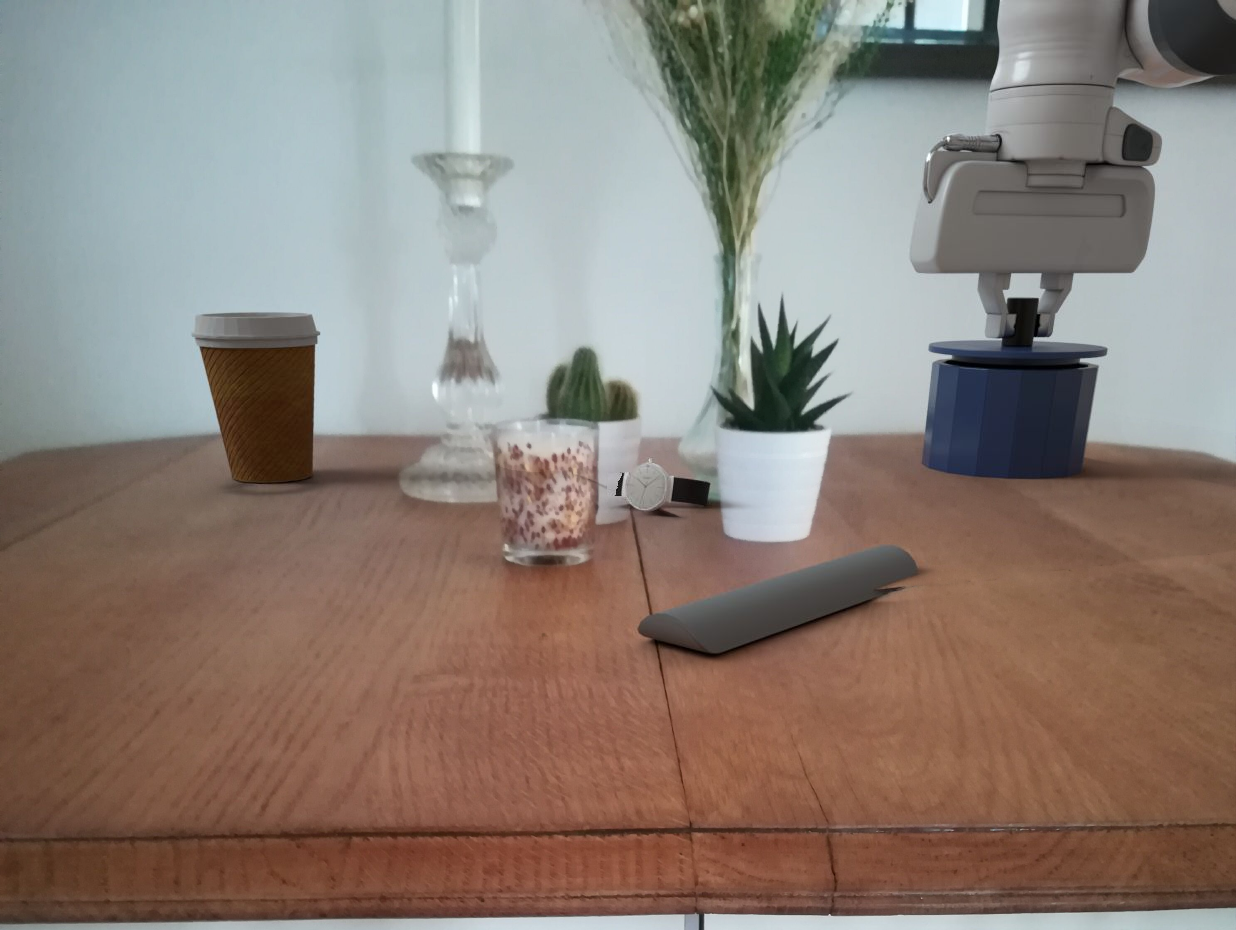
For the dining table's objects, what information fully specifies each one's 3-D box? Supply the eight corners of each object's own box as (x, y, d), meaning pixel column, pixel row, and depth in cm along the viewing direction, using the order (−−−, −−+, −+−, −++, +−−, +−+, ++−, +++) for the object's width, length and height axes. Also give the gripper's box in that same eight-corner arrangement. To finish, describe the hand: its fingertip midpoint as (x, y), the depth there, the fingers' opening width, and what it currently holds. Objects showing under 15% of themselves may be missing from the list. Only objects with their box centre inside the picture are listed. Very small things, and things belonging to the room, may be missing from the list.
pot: (1011, 457, 108) (1025, 355, 105) (1114, 480, 98) (1134, 367, 94) (892, 466, 104) (902, 359, 100) (986, 490, 93) (1002, 372, 90)
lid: (1026, 352, 105) (1034, 294, 103) (1144, 364, 94) (1155, 299, 92) (893, 356, 100) (899, 295, 98) (1001, 369, 89) (1009, 301, 87)
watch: (593, 509, 85) (593, 456, 84) (623, 499, 89) (624, 448, 88) (693, 520, 82) (695, 465, 81) (721, 508, 86) (723, 455, 85)
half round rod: (923, 583, 67) (926, 550, 66) (701, 662, 54) (703, 623, 53) (856, 570, 69) (858, 539, 69) (629, 643, 56) (630, 605, 55)
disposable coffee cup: (184, 479, 96) (161, 315, 91) (274, 463, 104) (257, 310, 99) (270, 491, 92) (251, 319, 87) (358, 473, 99) (344, 314, 94)
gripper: (956, 128, 84) (933, 342, 90) (1180, 139, 91) (1145, 337, 97) (903, 135, 89) (884, 337, 95) (1119, 145, 97) (1089, 333, 103)
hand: (1018, 337), depth 96 cm, fingers closed on lid, 2 cm apart
